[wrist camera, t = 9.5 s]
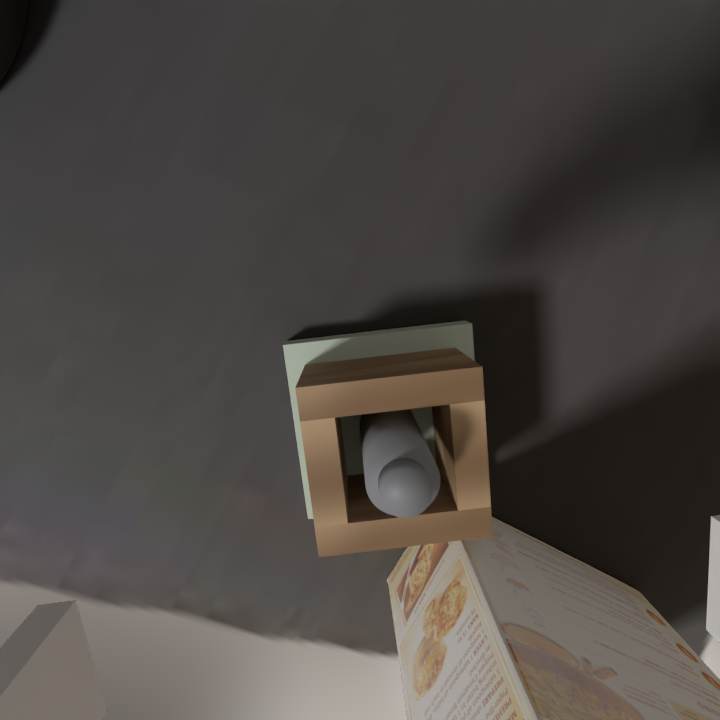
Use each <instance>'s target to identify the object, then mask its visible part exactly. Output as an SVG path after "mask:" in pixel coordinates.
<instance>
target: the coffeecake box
mask: <svg viewBox="0 0 720 720" xmlns="http://www.w3.org/2000/svg"><path fill="white" fill-rule="evenodd" d="M492 532H493V537H486V538H478V539H469V540H461V541H452V542H444V543H435V544H427V545H418V546H410V547H407V549H406V550H405V551H404V553H403V554H402V556H401V557H400V559H399V561H398V562H397V564H396V566H395V567H394V569H393V571H392V572H391V574H390V575H389V577H388V578H387V582H388V585H389V592H390V599H391V607H392V614H393V621H394V628H395V635H396V642H397V649H398V656H399V663H400V670H401V677H402V684H403V692H404V699H405V707H406V714H407V720H720V679H719V678H718V677H717V676H716V675H715V674H714V673H713V672H712V671H711V670H710V669H709V667H708V666H706V664H705V663H704V662H703V661H702V660H701V659H700V657H699V656H698V655H697V654H696V653H695V652H694V651H693V650H692V649H691V648H690V647H689V645H688V644H687V643H686V642H685V641H684V640H683V639H682V638H681V637H680V636H679V634H678V633H677V632H676V631H675V630H674V629H673V628H672V627H671V626H670V624H669V623H668V622H667V621H666V620H665V619H664V618H663V617H662V616H661V615H660V613H659V612H658V611H657V610H656V609H655V608H654V607H653V606H652V605H651V604H650V603H649V601H648V600H647V599H646V598H645V597H644V596H643V595H642V594H641V593H640V592H639V591H638V590H636V589H634V588H632V587H630V586H628V585H627V584H625V583H623V582H621V581H619V580H617V579H615V578H613V577H611V576H609V575H607V574H605V573H603V572H601V571H599V570H597V569H595V568H593V567H591V566H590V565H588V564H586V563H584V562H582V561H580V560H577V559H575V558H573V557H571V556H569V555H567V554H565V553H563V552H561V551H559V550H557V549H555V548H554V547H552V546H550V545H548V544H546V543H544V542H542V541H540V540H538V539H536V538H534V537H532V536H530V535H528V534H526V533H524V532H522V531H520V530H518V529H516V528H514V527H512V526H510V525H508V524H506V523H504V522H502V521H500V520H498V519H496V518H494V517H492Z"/></svg>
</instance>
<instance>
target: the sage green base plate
mask: <svg viewBox="0 0 720 720" xmlns="http://www.w3.org/2000/svg"><path fill="white" fill-rule="evenodd" d="M447 348H457V349H458V350H459V351H461V352H462V353H464V354H465V355H467V356H468V357H469V358H471V359H472V360H474V361H475V358H474V343H473V328H472V323H470V322H468V321H456V322H447V323H439V324H430V325H421V326H412V327H404V328H395V329H386V330H377V331H369V332H360V333H351V334H342V335H334V336H325V337H316V338H308V339H299V340H290V341H286V342H285V343H284V344H283V349H284V356H285V363H286V370H287V377H288V384H289V390H290V397H291V404H292V411H293V418H294V425H295V432H296V439H297V446H298V453H299V460H300V467H301V474H302V481H303V487H304V494H305V501H306V508H307V515H308V519H313V511H312V504H311V497H310V490H309V483H308V476H307V468H306V461H305V454H304V447H303V440H302V433H301V425H300V418H299V411H298V404H297V397H296V390H295V387H296V385H297V383H298V380H299V378H300V376H301V373H302V371H303V368H304V366H305V365H306V364H315V363H323V362H332V361H341V360H350V359H359V358H368V357H377V356H385V355H394V354H403V353H412V352H421V351H430V350H438V349H447ZM340 420H341V428H342V436H343V444H344V452H345V461H346V469H347V476H348V475H356V474H364V476H365V486H366V491H367V494H368V496H369V498H370V500H371V502H372V503H373V504H374V505H375V506H376V507H377V508H378V509H379V510H381V511H383V512H385V513H387V514H390V515H393V516H396V517H400V518H410V517H414V516H417V515H419V514H421V513H422V512H423V511H424V510H425V509H426V508H427V507H428V506H429V505H430V504H431V503H432V502H433V501H434V499H435V498H436V496H437V494H438V491H439V488H440V472H439V469H438V467H437V464H436V451H435V439H434V427H433V415H432V407H423V408H414V409H406V410H397V411H388V412H379V413H371V414H362V415H353V416H344V417H340Z"/></svg>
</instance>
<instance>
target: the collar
mask: <svg viewBox="0 0 720 720" xmlns="http://www.w3.org/2000/svg"><path fill="white" fill-rule="evenodd" d="M295 390H296V397H297V404H298V411H299V418H300V425H301V433H302V440H303V447H304V454H305V461H306V468H307V476H308V483H309V490H310V497H311V504H312V511H313V518H314V526H315V533H316V540H317V547H318V554H319V557H325V556H333V555H342V554H350V553H359V552H367V551H376V550H384V549H393V548H401V547H410V546H418V545H427V544H435V543H444V542H452V541H461V540H469V539H478V538H486V537H493V532H492V515H491V499H490V482H489V465H488V448H487V432H486V415H485V398H484V382H483V367H482V366H481V365H480V364H478V363H477V362H475V361H474V360H472V359H471V358H469V357H468V356H467V355H465V354H464V353H462V352H461V351H459V350H458V349H457V348H447V349H438V350H430V351H421V352H412V353H403V354H394V355H385V356H377V357H368V358H359V359H350V360H341V361H332V362H323V363H315V364H306V365H305V366H304V368H303V371H302V373H301V376H300V378H299V380H298V383H297V385H296V387H295ZM423 407H432V415H433V427H434V439H435V451H436V464H437V467H438V469H439V472H440V488H439V491H438V494H437V496H436V498H435V499H434V501H433V502H432V503H431V504H430V505H429V506H428V507H427V508H426V509H425V510H424V511H423V512H422V513H421V514H419V515H417V516H414V517H410V518H400V517H396V516H393V515H390V514H387V513H385V512H383V511H381V510H379V509H378V508H377V507H376V506H375V505H374V504H373V503H372V502H371V500H370V498H369V496H368V494H367V491H366V486H365V476H364V474H356V475H348V476H347V469H346V461H345V452H344V444H343V436H342V428H341V420H340V417H344V416H353V415H362V414H371V413H379V412H388V411H397V410H406V409H414V408H423Z"/></svg>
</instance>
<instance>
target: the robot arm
mask: <svg viewBox="0 0 720 720" xmlns="http://www.w3.org/2000/svg"><path fill="white" fill-rule="evenodd" d="M28 5H29V0H0V82H1V81H2V79H3V78H4V76H5V75H6V73H7V72H8V70H9V68H10V66H11V64H12V62H13V60H14V59H15V56H16V54H17V51H18V49H19V46H20V43H21V40H22V37H23V34H24V29H25V25H26V20H27V14H28ZM706 630H707V631H708V632H709V633H710V634H711V635H712V636H713V637H714V638H715V639H716V640H717V641H718V642H720V515H716V516H711V528H710V551H709V574H708V597H707V620H706ZM106 712H107V708H106V705H105V701H104V697H103V694H102V691H101V687H100V684H99V680H98V677H97V674H96V670H95V666H94V663H93V659H92V656H91V653H90V649H89V645H88V642H87V638H86V635H85V632H84V628H83V624H82V621H81V618H80V614H79V611H78V607H77V604H76V600H74V601H67V602H59V603H52V604H44V605H38V606H37V607H36V608H35V609H34V610H33V612H32V613H31V614H30V615H29V616H28V617H27V618H26V619H25V620H24V622H23V623H22V624H21V625H20V626H19V627H18V628H17V629H16V631H15V632H14V633H13V634H12V635H11V636H10V637H9V639H8V640H7V641H6V642H5V643H4V644H3V645H2V647H1V648H0V720H103V718H104V716H105V714H106Z"/></svg>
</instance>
